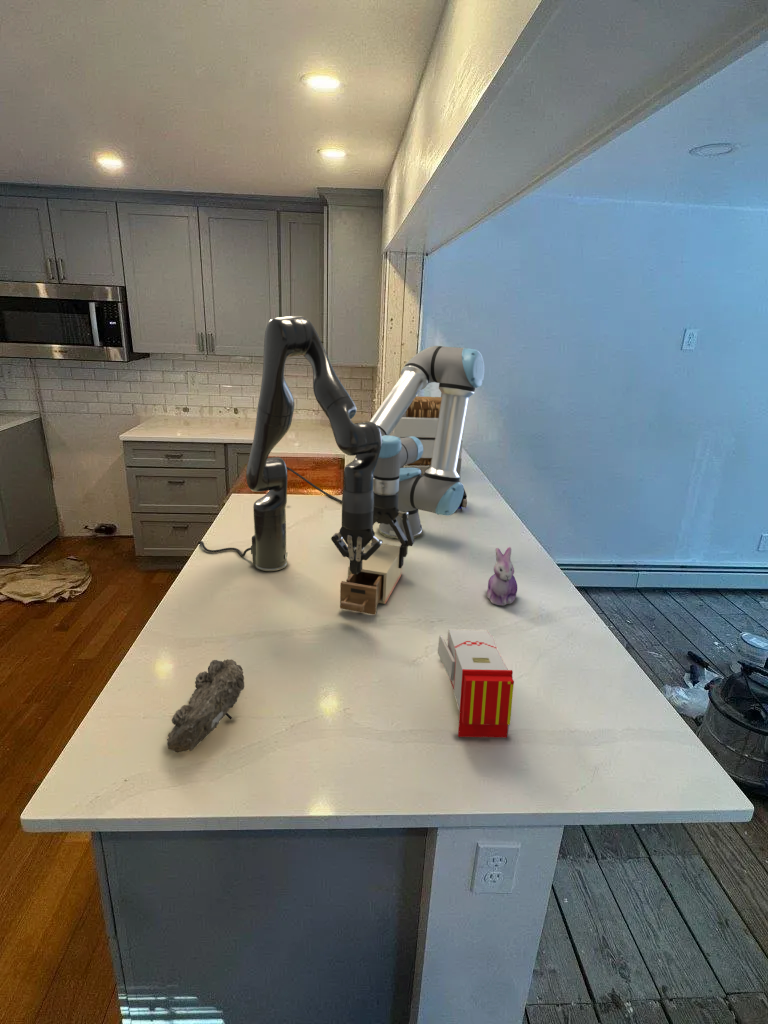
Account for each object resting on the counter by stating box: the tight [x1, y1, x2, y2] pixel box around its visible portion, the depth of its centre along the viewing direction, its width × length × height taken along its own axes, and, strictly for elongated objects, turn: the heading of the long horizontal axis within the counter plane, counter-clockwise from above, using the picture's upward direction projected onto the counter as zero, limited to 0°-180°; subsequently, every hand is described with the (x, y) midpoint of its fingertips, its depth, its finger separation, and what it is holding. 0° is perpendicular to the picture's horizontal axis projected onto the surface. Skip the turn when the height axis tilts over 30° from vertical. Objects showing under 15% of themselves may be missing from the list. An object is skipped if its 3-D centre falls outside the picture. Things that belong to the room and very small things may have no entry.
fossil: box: [166, 658, 245, 754], centre depth 106 cm, size 22×10×15 cm
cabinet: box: [347, 541, 403, 605], centre depth 160 cm, size 18×11×9 cm, turn 165°
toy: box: [437, 628, 515, 738], centre depth 117 cm, size 12×13×30 cm
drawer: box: [339, 572, 384, 616], centre depth 150 cm, size 23×10×7 cm, turn 165°
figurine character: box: [457, 489, 468, 512], centre depth 228 cm, size 7×8×15 cm
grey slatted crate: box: [389, 392, 465, 483], centre depth 268 cm, size 34×33×41 cm
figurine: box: [486, 546, 518, 606], centre depth 155 cm, size 9×10×15 cm
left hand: (355, 573), depth 140 cm, fingers closed
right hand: (381, 563), depth 166 cm, fingers closed on cabinet, 11 cm apart
